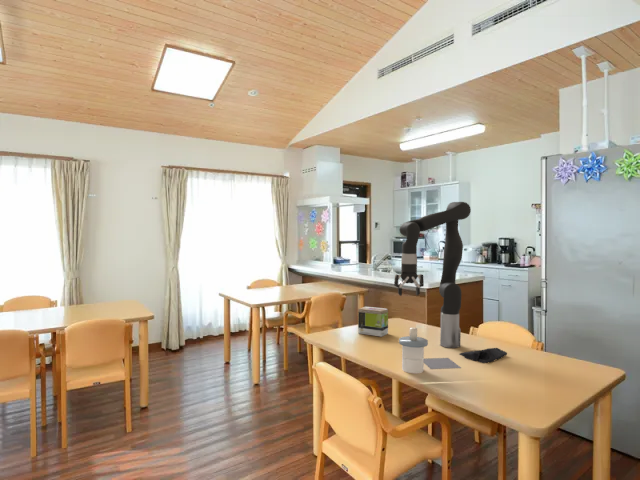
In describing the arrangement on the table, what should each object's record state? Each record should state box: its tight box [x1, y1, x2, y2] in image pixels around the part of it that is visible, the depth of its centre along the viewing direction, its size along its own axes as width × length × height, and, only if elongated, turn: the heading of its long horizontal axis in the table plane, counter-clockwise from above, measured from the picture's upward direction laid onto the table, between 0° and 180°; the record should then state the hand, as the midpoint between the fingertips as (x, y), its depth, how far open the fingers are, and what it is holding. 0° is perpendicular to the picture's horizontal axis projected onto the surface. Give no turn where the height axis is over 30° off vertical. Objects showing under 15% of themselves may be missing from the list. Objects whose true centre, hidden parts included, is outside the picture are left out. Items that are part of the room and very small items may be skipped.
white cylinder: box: [401, 345, 425, 374], centre depth 175 cm, size 9×9×12 cm
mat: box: [424, 357, 462, 370], centre depth 184 cm, size 14×14×1 cm
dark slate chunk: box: [458, 347, 508, 364], centre depth 195 cm, size 15×22×5 cm
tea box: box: [357, 306, 389, 337], centre depth 237 cm, size 15×10×15 cm, turn 58°
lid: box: [398, 326, 429, 348], centre depth 175 cm, size 12×12×6 cm
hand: (408, 295), depth 202 cm, fingers open, 8 cm apart
